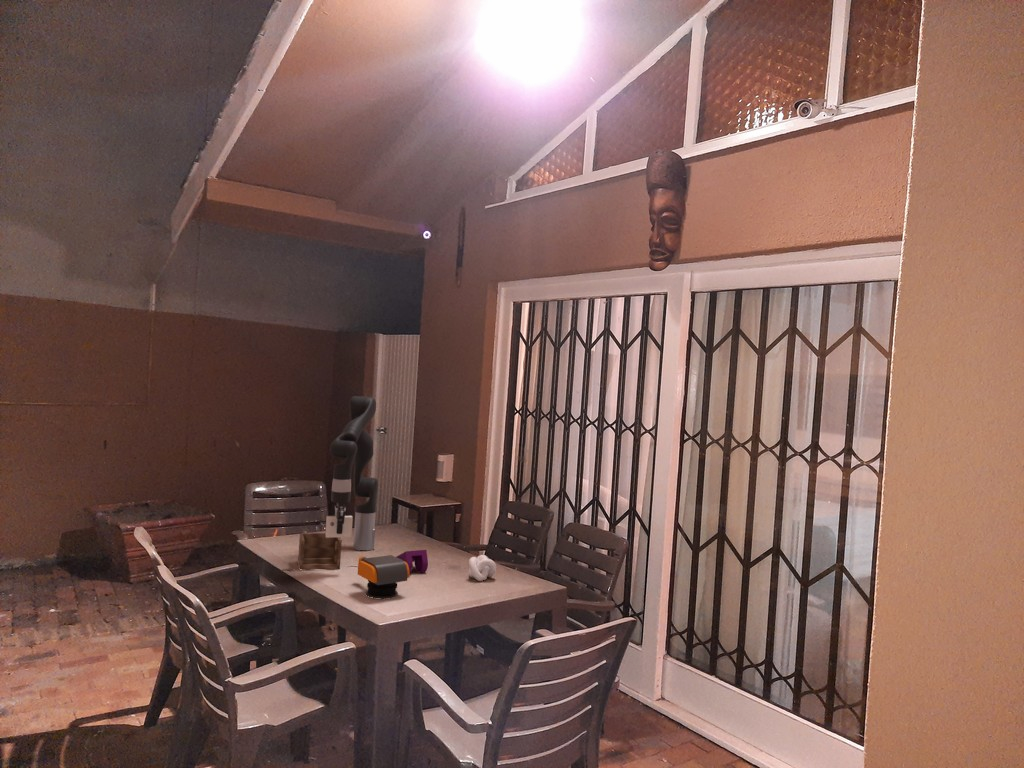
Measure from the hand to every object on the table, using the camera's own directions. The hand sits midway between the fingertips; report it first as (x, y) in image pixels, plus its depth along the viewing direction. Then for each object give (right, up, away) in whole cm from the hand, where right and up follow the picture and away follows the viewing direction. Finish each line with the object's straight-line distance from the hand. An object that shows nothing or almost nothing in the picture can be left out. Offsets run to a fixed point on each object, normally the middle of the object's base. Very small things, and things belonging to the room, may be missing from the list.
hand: (338, 532), depth 279 cm
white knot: (+56, -21, +6) cm, 60 cm away
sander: (+18, -18, -19) cm, 32 cm away
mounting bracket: (+26, -19, +14) cm, 35 cm away
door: (0, -2, 0) cm, 2 cm away
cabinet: (-11, -16, +11) cm, 23 cm away
